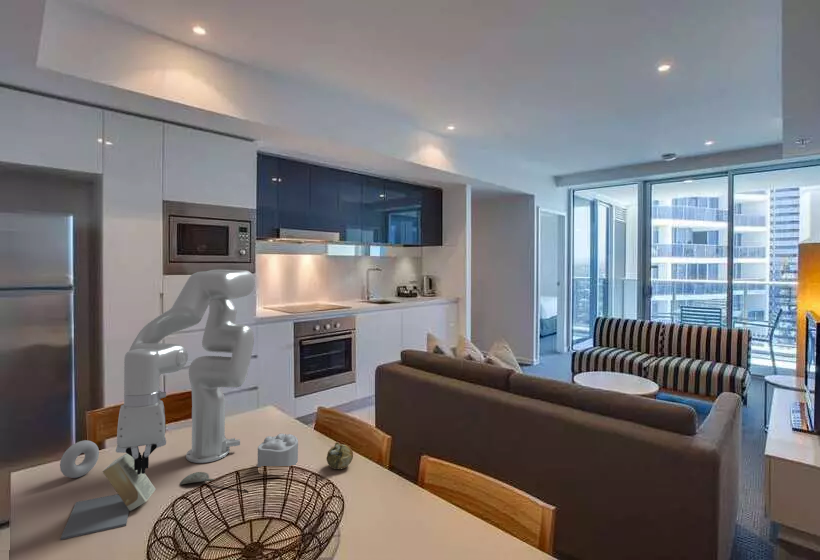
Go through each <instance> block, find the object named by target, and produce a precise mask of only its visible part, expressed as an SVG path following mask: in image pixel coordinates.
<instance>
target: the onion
mask: <svg viewBox="0 0 820 560" xmlns="http://www.w3.org/2000/svg"><path fill="white" fill-rule="evenodd" d="M353 459H354V453H353V450H352V448H351V447H350V446H349V445H346V444H342V443H339V441H336V442H335V443H334V446H332V447H330V449H329V450H328V452H327V454H326V461H327V464H328V466H329V467H330V468H332V469H333V468H339V469H338V470H342V469H341V468H343V469H345V467H346V468H347V467H348V466H349V465H351V462H352V461H353Z"/></svg>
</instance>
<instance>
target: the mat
mask: <svg viewBox="0 0 820 560" xmlns="http://www.w3.org/2000/svg"><path fill="white" fill-rule="evenodd" d="M129 513H130V510H129V509H128V508H127V506H126V505H125V503H124V502H123V500H122V499H121V497H120V496H119V495H118V493H117V494H112V495H105V496H99V497H95V498H90V499H85V500H80V501H75V503H74V506H73V509H72V511H71V513H70V515H69V517H68V520H67V523H66V525H65V527H64V529H63V531H62V533H61V536H60V541H63V540H65V539H67V540H68V539H72V538H75V537H79V536H80V537H81V536H84V535H85V536H86V535H90V534H93V533H99V532H102V531H103V532H104V531H108V530H114V529H117V528H121V527H126V526H127V524H128V523H127V522H128V518H129Z"/></svg>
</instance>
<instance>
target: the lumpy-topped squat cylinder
mask: <svg viewBox="0 0 820 560" xmlns="http://www.w3.org/2000/svg"><path fill="white" fill-rule="evenodd" d="M298 460H299V440H298V437H297V436H296V435H293V434H290V433H289V434H287V433H279V434H277V435H275V436H271V435H270V436H269V435H268V436H266V437H265V438H264V440H263V442H261V443H260V444H259V445H258V446H257V464H256V465H257V467H261V466H291V465H296V463H297V462H298ZM298 463H299V462H298Z"/></svg>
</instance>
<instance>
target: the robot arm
mask: <svg viewBox="0 0 820 560" xmlns="http://www.w3.org/2000/svg"><path fill="white" fill-rule="evenodd" d="M255 285H256V281H255V277H254V275H253V274H252V272H250V270H245V269H210V270H207V271H196V272H194V273H192V274H191V275H190V276H189V277H188V279H187V281H186V282H185V284H184V286H183V287H182V289H181V291H180V292H179V294H178V296H177V298H176V299H175V301H174V303H173V305H172V306H171V308H169V309H168V310H166V311H165V312H162V314H160V315H158V316H156V318H154V319H152V320H151V321H150V322H148V323H147V324H145V325H144V327H142V328H141V330H140V331H139V332H138V333H137V335H136V337H135V338H134V340H133V342H132V344H131V345H130V347H129V350H128V351H127V352H126V353H125V355H124V357H123V358H124V361H123V364H124V366H123V369H124V370H123V373H124V374H123V382H124V383H123V388H124V389H123V392H124V393H123V404H121V405H120V408H119V414H118V421H117V430H116V449H115V452H116V453H118V454H119V453H120V454H124V453H125V454H126V453H127V454H129V455H130V456H132V457H133V459H134V470H137V475H139V474H141V473H142V474H146V469H149V463H150V460H149V458H150V455H151V454H152V453H153V452H155V450H156V449H158V448H161V447H164V446H166V444H167V440H166V414H165V413H166V411H165V406H164V402H163V400H161V399H163V398H166V397H167V391H164V392H163V391H162V390H160V388H161V387H160V386H161V385H160V382H161V381H160V380H161V379H160V378H161V377H160V376H161V375H165V374H171V373H176V372H178V371H180V370H181V369H183V368H184V367H185V365H186V364H187V362H188V359H189V353H188V351H187V349H186V347H185V346H182V345H180V344H177V343H163V342H161V341H162V340H163V339H165V338H166V337H168V336H169V335H172V334H173V333H176V332H179V331H182V330H186V329H189V328H191V327H193V326H195V325H197V324H199V323H200V322H201V321H202V319H203V317H204V315H205V313H206V311H207V309H208V308H209V309H208V316H207V319H206V323H205V327H204V332H203V336H202V340H201V341H202V342H201V345H202V347H203V350H204V351H206V352H209V353H216V354H217V353H219V354H231V356H219V355H203V356H199V357H197V358H195V359H193V360H192V361H191V363H190V365H189V367H188V380H189V383H190V389H191V406H192V407H191V449H189V450H188V451H187V452H186V454H185V458H186V460H187V461H188V462H191V463H195V464H196V463H197V464H205V463H212V462H215V461H218V460H222V459H223V457H224V458H225V457H227V456H228V455H229V454H230V452H229V451H230V449H231V448H230V447H238V446H239V447H240V445H241V438H240V439H236V438H235V437H233V438H226V435H225V434H226V433H225V431H226V430H225V425H226V422H225V421H226V417H225V416H226V410H225V409H226V399H225V395H224V392H223V390H222V388H231V389H232V388H233V389H234V388H236V389H237V388H241V386H243V385H244V384H245V382H246V380H247V376H248V372H249V369H250V364H251V361H252V360H251V359H252V355H253V349H254V344H255V336H254V331H253V329H252V328H251V327H250V326H249V325H247V324H243V323H235V321H236V317H237V313H238V312H237V307H236V306H235V303H234V302H233V300H237V299H239V298H244V297H247V296H249V295H250V294H252V292H253V291H254V290H255V289H254V288H255V287H256V286H255ZM143 446H145V448H144V451H143V453H142V454H141V452H140V449H139V447H143ZM228 453H229V454H228ZM227 454H228V455H227ZM226 455H227V456H226ZM221 458H222V459H221ZM141 468H142V470H141Z"/></svg>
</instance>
